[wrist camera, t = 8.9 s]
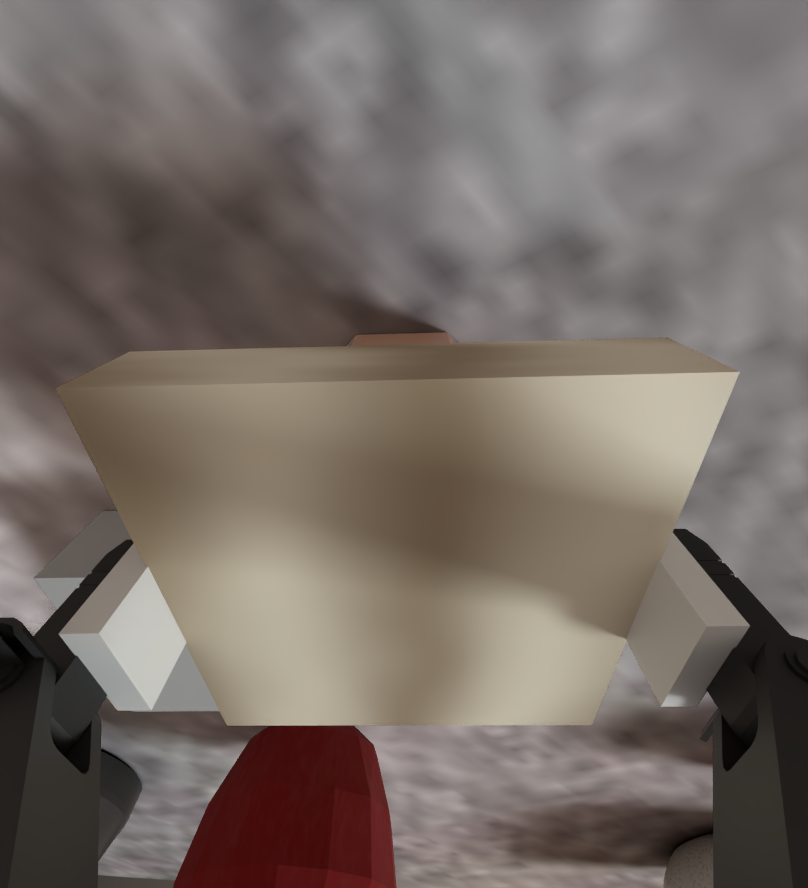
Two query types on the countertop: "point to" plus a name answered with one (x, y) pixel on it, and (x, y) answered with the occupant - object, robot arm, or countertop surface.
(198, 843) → the apple
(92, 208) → the countertop surface
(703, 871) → the planter
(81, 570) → the grey rectangular block
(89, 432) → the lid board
